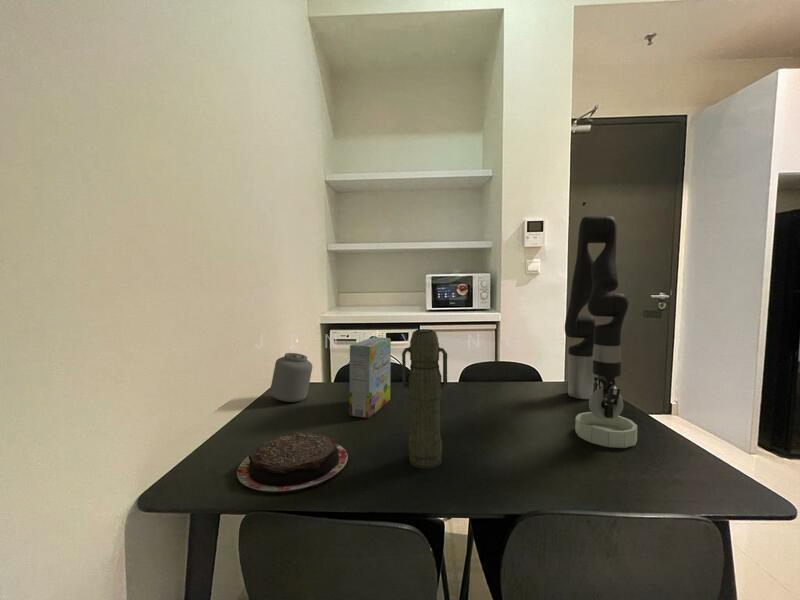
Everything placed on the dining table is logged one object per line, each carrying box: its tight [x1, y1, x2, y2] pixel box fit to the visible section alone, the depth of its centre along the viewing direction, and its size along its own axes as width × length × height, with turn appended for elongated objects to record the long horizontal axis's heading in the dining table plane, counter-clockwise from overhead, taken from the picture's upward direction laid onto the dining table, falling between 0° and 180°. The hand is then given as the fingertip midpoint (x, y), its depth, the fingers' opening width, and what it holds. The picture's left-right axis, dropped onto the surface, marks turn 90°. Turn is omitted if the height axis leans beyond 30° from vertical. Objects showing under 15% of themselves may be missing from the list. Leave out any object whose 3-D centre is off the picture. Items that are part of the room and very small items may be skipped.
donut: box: [588, 388, 624, 421], centre depth 112 cm, size 10×4×10 cm, turn 88°
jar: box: [269, 338, 313, 403], centre depth 150 cm, size 19×15×25 cm
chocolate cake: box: [236, 432, 349, 494], centre depth 97 cm, size 28×28×7 cm
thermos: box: [401, 328, 448, 469], centre depth 98 cm, size 9×12×35 cm
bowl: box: [574, 411, 638, 449], centre depth 112 cm, size 16×16×4 cm
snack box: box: [348, 336, 392, 419], centre depth 139 cm, size 22×9×26 cm, turn 161°
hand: (605, 414), depth 112 cm, fingers closed on donut, 3 cm apart
